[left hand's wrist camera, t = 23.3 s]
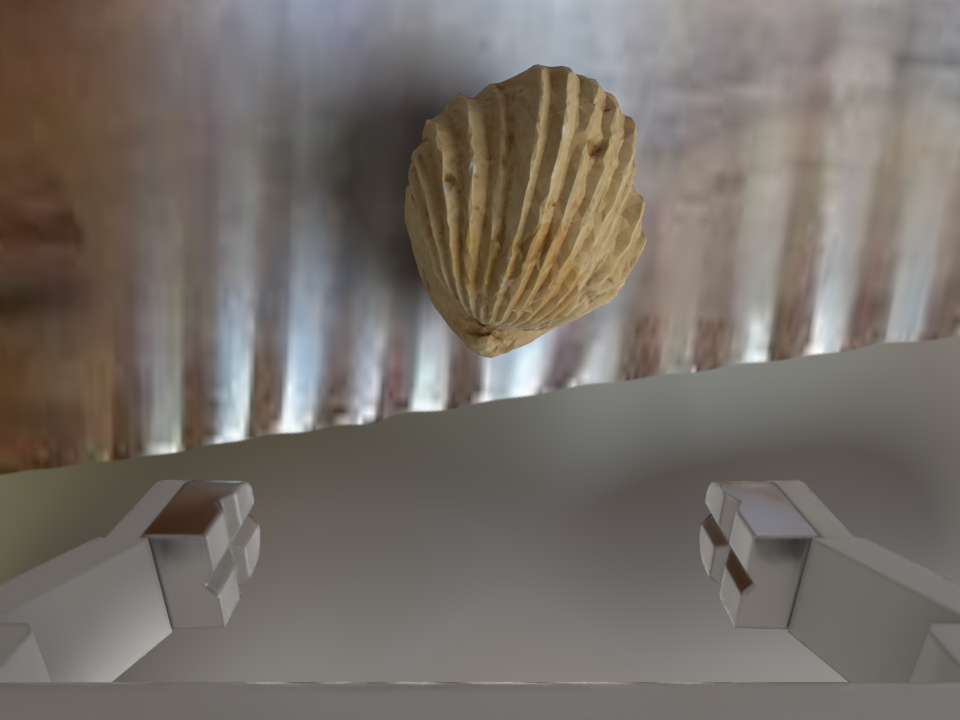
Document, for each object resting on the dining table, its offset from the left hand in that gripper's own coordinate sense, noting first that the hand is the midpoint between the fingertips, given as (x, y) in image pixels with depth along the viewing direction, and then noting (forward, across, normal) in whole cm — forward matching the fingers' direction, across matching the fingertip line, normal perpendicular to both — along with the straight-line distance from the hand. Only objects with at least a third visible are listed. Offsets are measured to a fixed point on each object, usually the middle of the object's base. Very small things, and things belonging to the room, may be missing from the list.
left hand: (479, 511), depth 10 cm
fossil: (+34, +2, +1) cm, 34 cm away
